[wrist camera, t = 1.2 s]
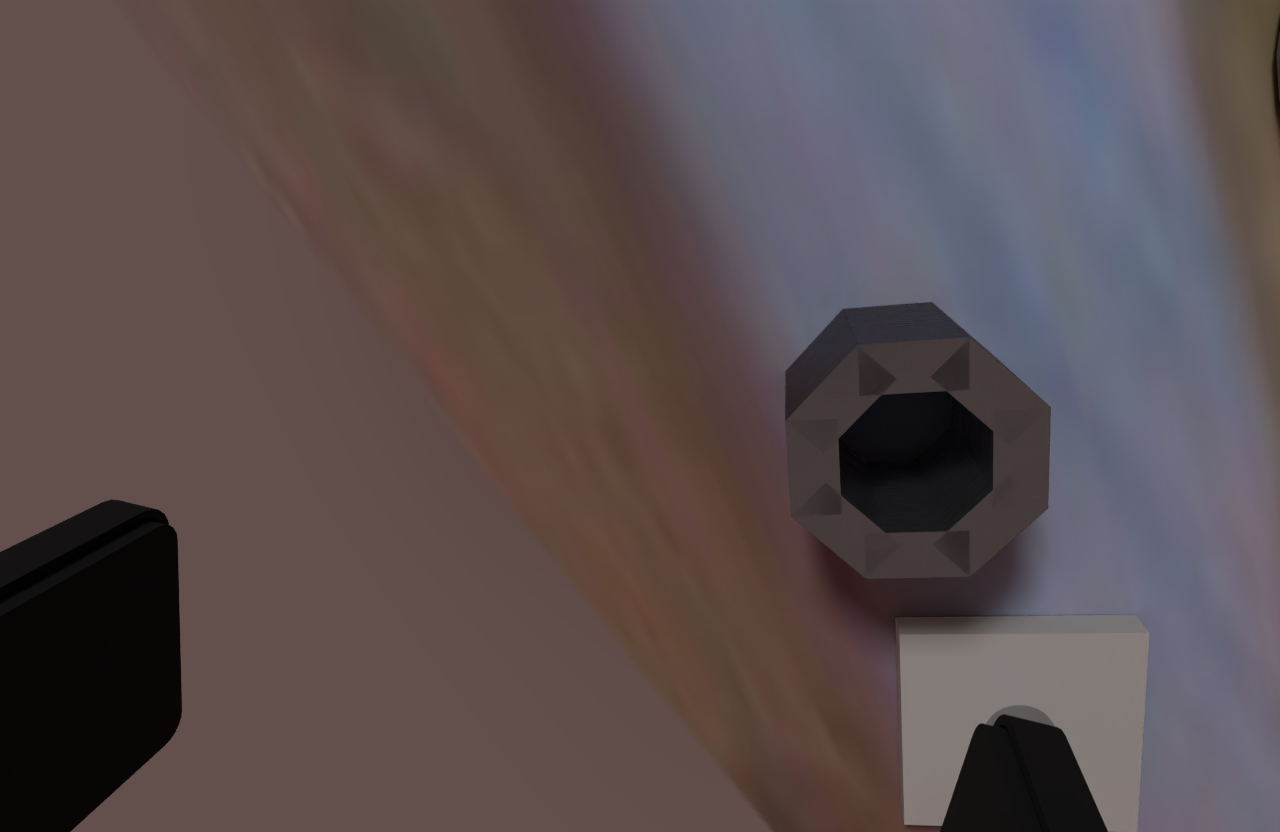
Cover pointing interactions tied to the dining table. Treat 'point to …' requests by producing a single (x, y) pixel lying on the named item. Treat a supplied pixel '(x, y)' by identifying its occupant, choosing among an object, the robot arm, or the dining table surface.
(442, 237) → the dining table surface
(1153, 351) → the dining table surface
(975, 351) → the ring
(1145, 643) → the shaft block
